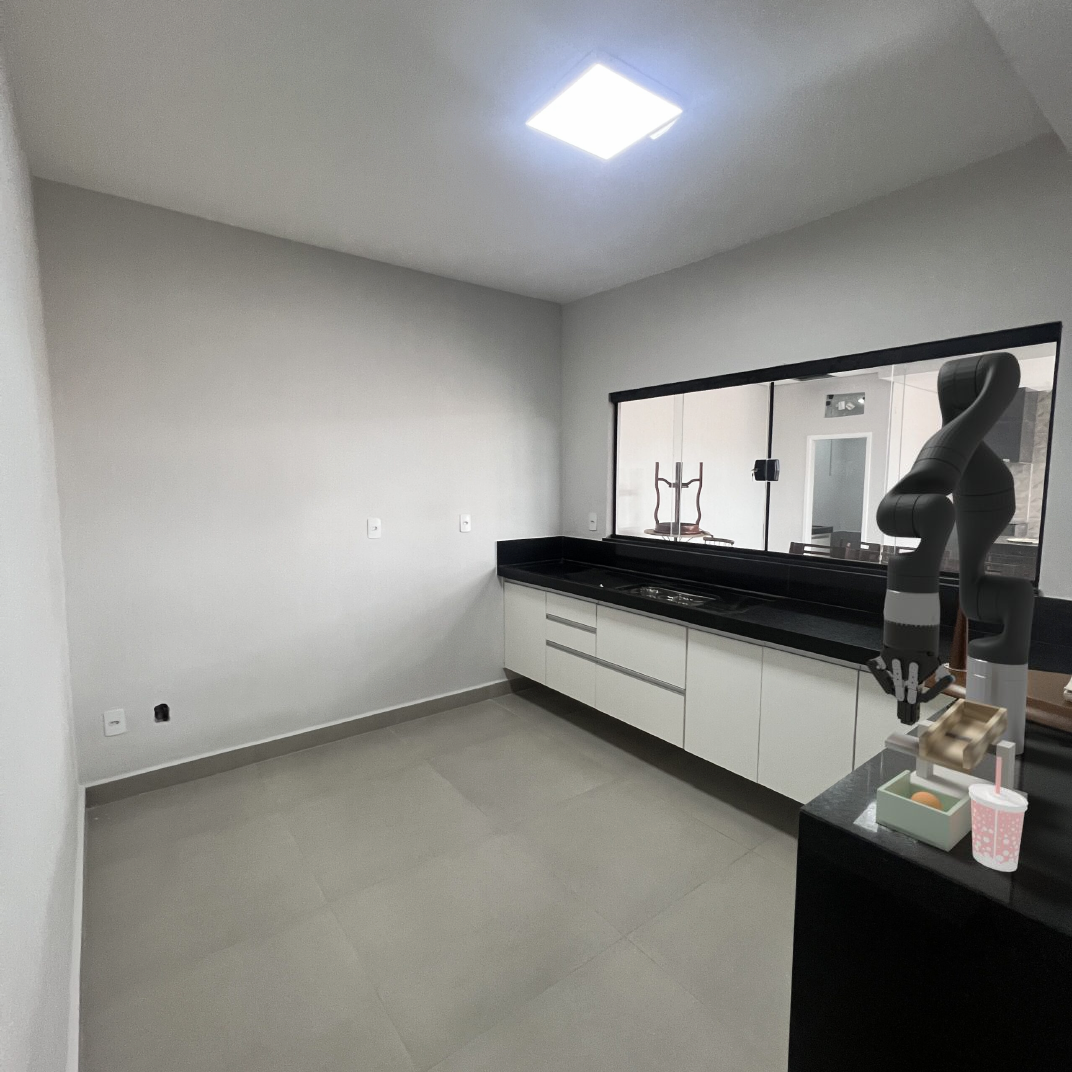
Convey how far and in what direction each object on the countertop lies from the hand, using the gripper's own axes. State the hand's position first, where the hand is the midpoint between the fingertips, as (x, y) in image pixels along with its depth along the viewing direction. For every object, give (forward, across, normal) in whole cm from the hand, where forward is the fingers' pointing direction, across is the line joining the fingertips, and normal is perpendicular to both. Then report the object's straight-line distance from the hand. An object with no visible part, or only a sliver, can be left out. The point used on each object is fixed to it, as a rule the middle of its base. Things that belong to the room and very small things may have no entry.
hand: (907, 723), depth 95 cm
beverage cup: (+12, -15, +11) cm, 22 cm away
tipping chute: (+4, -4, -7) cm, 9 cm away
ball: (+9, -6, +8) cm, 13 cm away
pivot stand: (+12, -6, -7) cm, 15 cm away
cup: (+11, -6, +8) cm, 15 cm away
